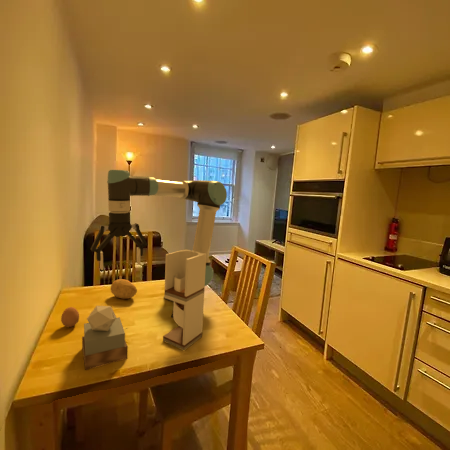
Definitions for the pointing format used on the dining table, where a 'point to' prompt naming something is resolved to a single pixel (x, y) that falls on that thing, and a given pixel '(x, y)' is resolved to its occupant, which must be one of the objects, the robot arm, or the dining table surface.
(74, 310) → the egg
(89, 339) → the block
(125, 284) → the potato
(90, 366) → the block
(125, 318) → the dining table surface
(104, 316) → the die
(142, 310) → the dining table surface
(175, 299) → the display case
